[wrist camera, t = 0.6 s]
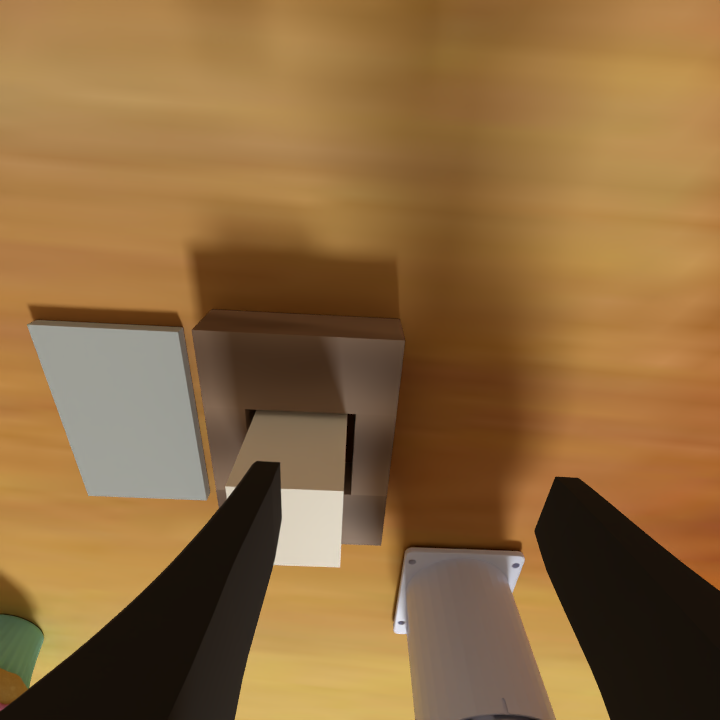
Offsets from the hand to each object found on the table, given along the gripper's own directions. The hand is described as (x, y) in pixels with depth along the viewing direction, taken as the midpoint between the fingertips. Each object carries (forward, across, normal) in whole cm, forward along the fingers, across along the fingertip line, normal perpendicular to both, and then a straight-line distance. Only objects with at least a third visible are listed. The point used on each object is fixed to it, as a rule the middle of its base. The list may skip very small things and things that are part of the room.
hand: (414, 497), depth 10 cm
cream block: (+10, +4, +5) cm, 12 cm away
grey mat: (+10, +14, +6) cm, 18 cm away
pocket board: (+10, +4, +5) cm, 12 cm away
